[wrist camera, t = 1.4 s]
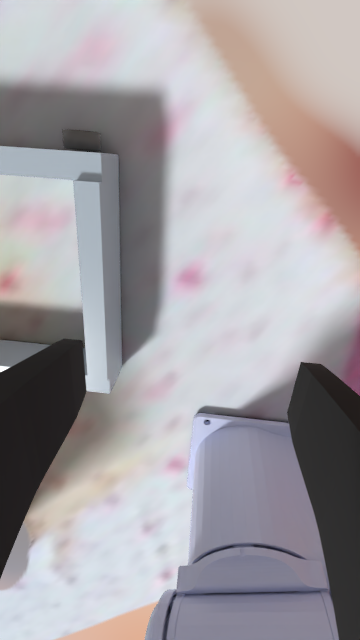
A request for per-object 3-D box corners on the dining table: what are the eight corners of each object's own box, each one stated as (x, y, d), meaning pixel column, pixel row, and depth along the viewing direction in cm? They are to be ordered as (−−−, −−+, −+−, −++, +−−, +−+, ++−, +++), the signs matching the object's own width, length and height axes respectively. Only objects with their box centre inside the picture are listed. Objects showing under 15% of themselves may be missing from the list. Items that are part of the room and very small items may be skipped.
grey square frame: (118, 135, 17) (96, 128, 14) (122, 377, 24) (108, 409, 20) (-123, 119, 18) (-193, 110, 15) (-54, 358, 24) (-92, 386, 21)
